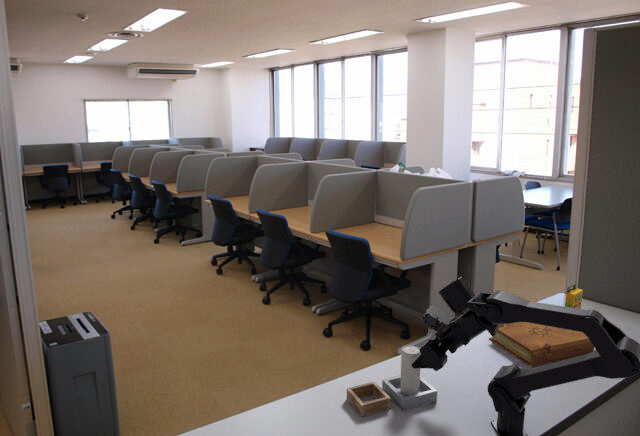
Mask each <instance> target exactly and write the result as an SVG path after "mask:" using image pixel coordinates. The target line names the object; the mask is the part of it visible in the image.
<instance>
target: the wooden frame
mask: <svg viewBox="0 0 640 436" xmlns="http://www.w3.org/2000/svg"><path fill="white" fill-rule="evenodd" d="M371 395H374V397H375V398H376V399H372V400H368V401H365V402H363V401H362V400H361V399H360V398H363V397H367V396H371ZM346 400H347V401H348V402H349V404H350V405H351V406H352V407H353V409H355V411H356V412H357V413H358V414H359V416H360V417H366V416H369V415H372V414H377V413H380V412H383V411H387V410H390V409H391V401H392V399H391V398H390V397H389V396H388V395H387V394H386V393H385V392H384V391H383V390H382V387H380V385H379V384H378V383H376V381H372V382H371V381H370V382H367V383H363V384H360V385H359V384H358V385H355V386H352V387H348V388H346Z"/></svg>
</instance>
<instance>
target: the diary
mask: <svg viewBox="0 0 640 436" xmlns="http://www.w3.org/2000/svg"><path fill="white" fill-rule="evenodd" d="M498 327H499V331H498V332H497V333H496V335H495V336H491V337H489V338H488V339H489V341H491V342H492V343H493V344H496V345H497V346H498V347H500V348H501V349H503V350H504V351H506V352H507V353H509V354H510V353H511V355H512V356H513V355H514V356H513V357H515V358H516V357H517V358H516V359H518V360H519V359H520V360H519V361H521V360H522V361H523V362H522V361H521V362H522V363H523V364H525V363H526V364H525V365H527V366H528V365H529V366H528V367H530V366H531V367H530V368H535V367H539V366H543V365H547V364H551V363H555V362H558V361H562V360H566V359H570V358H574V357H578V356H581V355H585V354H589V353H591V352H593V351H594V350H595V347H594V346H593V344H592V343H591V341H590V340H589V338H588V337H587V336H586V335H585V334H584V333H583V332H579V331H573V330H567V329H562V328H556V327H551V326H545V325H539V324H534V323H528V322H517V323H510V324H499V326H498ZM538 365H539V366H538ZM534 366H535V367H534Z"/></svg>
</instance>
